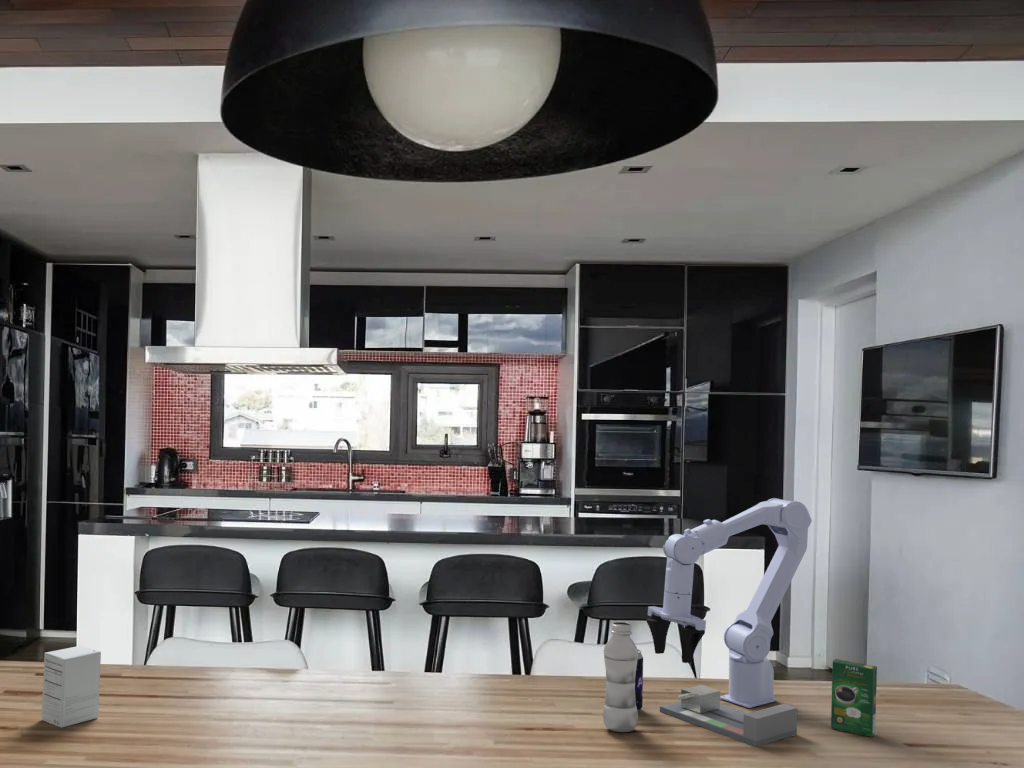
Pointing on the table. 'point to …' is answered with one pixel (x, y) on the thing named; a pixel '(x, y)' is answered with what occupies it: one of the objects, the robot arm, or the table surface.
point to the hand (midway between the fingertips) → (672, 657)
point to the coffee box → (853, 697)
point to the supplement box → (71, 686)
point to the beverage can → (639, 681)
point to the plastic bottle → (620, 680)
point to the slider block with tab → (700, 698)
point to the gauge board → (742, 722)
